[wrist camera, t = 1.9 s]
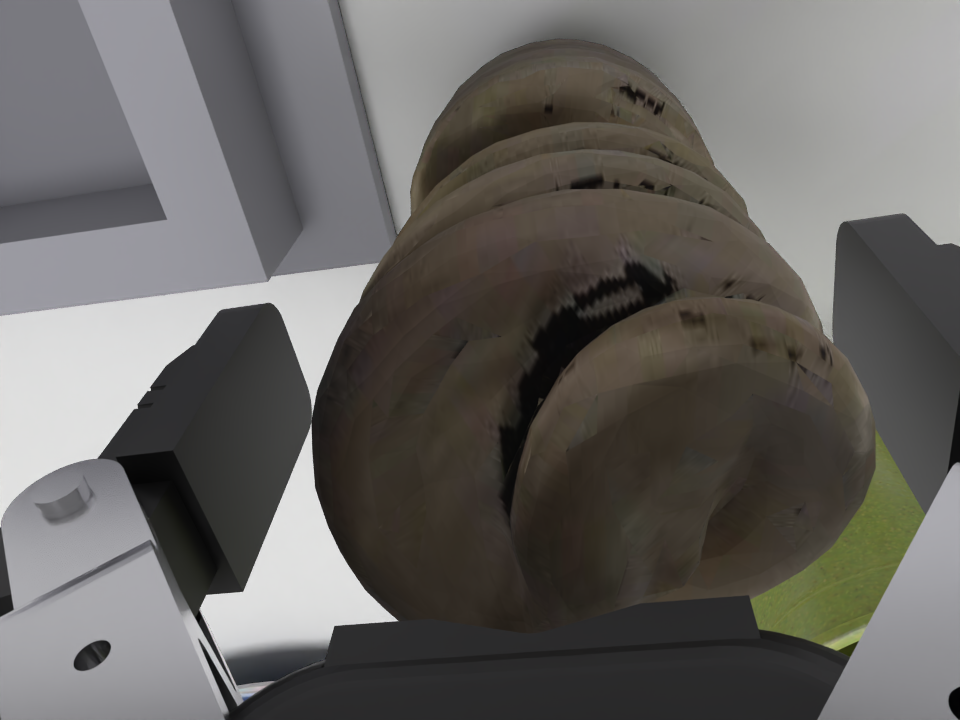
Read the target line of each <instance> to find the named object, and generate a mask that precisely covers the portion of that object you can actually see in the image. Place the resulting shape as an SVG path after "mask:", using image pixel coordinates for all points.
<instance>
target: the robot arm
mask: <svg viewBox="0 0 960 720" xmlns="http://www.w3.org/2000/svg"><path fill="white" fill-rule="evenodd" d="M833 341H834V345H835V346H836V347H837V348H838V349H839V350H840V351H841V352H842V353H843V354H844V355H845V356H846V357H847V358H848V360H849V362H850V364H851V366H852V368H853V370H854V372H855V373H856V375H857V377H858V379H859V381H860V383H861V385H862V387H863V389H864V390H865V392H866V394H867V396H868V399H869V403H870V407H871V410H872V414H873V417H874V421H875V429H876V430H877V432H878V434H879V436H880V437H881V439H882V441H883V442H884V444H885V446H886V448H887V449H888V451H889V453H890V455H891V456H892V458H893V460H894V461H895V463H896V465H897V467H898V468H899V470H900V472H901V474H902V475H903V477H904V479H905V481H906V482H907V484H908V486H909V487H910V489H911V491H912V493H913V494H914V496H915V498H916V500H917V501H918V503H919V505H920V506H921V508H922V510H923V512H924V513H925V515H926V516H925V518H924V520H923V522H922V524H921V525H920V527H919V529H918V531H917V533H916V535H915V537H914V539H913V540H912V542H911V544H910V546H909V548H908V550H907V552H906V554H905V556H904V557H903V559H902V561H901V563H900V565H899V567H898V569H897V571H896V572H895V574H894V576H893V578H892V580H891V582H890V584H889V586H888V588H887V589H886V591H885V593H884V595H883V597H882V599H881V601H880V603H879V604H878V606H877V608H876V610H875V612H874V614H873V616H872V618H871V620H870V621H869V623H868V625H867V627H866V629H865V631H864V633H863V635H862V636H861V638H860V640H859V642H858V644H857V646H856V648H855V650H854V652H853V653H852V655H851V657H849V656H847V655H845V654H843V653H841V652H839V651H836V650H834V649H832V648H829V647H826V646H823V645H821V644H818V643H815V642H812V641H809V640H806V639H803V638H799V637H795V636H791V635H787V634H783V633H779V632H773V631H767V630H761V629H758V626H757V622H756V619H755V615H754V611H753V608H752V604H751V601H750V597H749V595H745V596H732V597H719V598H705V599H692V600H678V601H665V602H651V603H640V604H637V605H633V606H630V607H626V608H623V609H619V610H616V611H613V612H609V613H606V614H602V615H599V616H595V617H592V618H589V619H585V620H582V621H578V622H575V623H571V624H568V625H565V626H561V627H558V628H554V629H551V630H548V631H544V632H539V633H530V634H528V633H518V632H512V631H505V630H499V629H492V628H486V627H479V626H473V625H466V624H460V623H453V622H447V621H440V620H434V619H423V620H409V621H396V622H383V623H369V624H356V625H342V626H334V630H333V634H332V637H331V641H330V645H329V648H328V652H327V656H326V659H325V660H323V661H320V662H317V663H314V664H311V665H309V666H306V667H304V668H301V669H299V670H296V671H294V672H292V673H290V674H288V675H286V676H284V677H282V678H280V679H278V680H276V681H275V682H273V683H271V684H269V685H268V686H266V687H264V688H263V689H261V690H260V691H258V692H257V693H255V694H254V695H252V696H250V697H249V698H248V699H246V700H245V701H243V699H242V696H241V694H240V692H239V690H238V688H237V685H236V683H235V681H234V679H233V677H232V675H231V672H230V670H229V668H228V666H227V664H226V662H225V659H224V657H223V655H222V653H221V651H220V649H219V646H218V644H217V642H216V640H215V638H214V635H213V633H212V631H211V629H210V627H209V625H208V623H207V621H206V619H205V617H204V615H203V614H202V612H201V610H200V607H201V605H202V603H203V600H204V598H205V596H206V595H209V594H221V593H233V592H243V591H244V588H245V586H246V583H247V581H248V578H249V576H250V574H251V571H252V569H253V566H254V564H255V561H256V559H257V556H258V554H259V552H260V549H261V547H262V544H263V542H264V539H265V537H266V534H267V532H268V530H269V527H270V525H271V522H272V520H273V517H274V515H275V512H276V510H277V507H278V505H279V503H280V500H281V498H282V495H283V493H284V490H285V488H286V485H287V483H288V481H289V478H290V476H291V473H292V471H293V468H294V466H295V463H296V461H297V459H298V456H299V454H300V451H301V449H302V446H303V444H304V441H305V439H306V437H307V434H308V432H309V429H310V425H311V418H312V407H311V399H310V394H309V390H308V387H307V384H306V381H305V379H304V376H303V373H302V370H301V368H300V365H299V362H298V359H297V357H296V354H295V351H294V349H293V346H292V343H291V340H290V338H289V335H288V332H287V329H286V327H285V324H284V321H283V319H282V316H281V314H280V312H279V311H278V309H277V308H276V307H275V306H274V305H273V304H271V303H265V304H258V305H251V306H244V307H237V308H230V309H223V310H221V311H219V312H218V313H217V315H216V316H215V318H214V319H213V320H212V322H211V323H210V325H209V326H208V327H207V329H206V330H205V332H204V333H203V334H202V336H201V337H200V339H199V340H198V341H197V343H196V344H195V345H193V346H191V347H190V348H189V349H188V350H186V351H185V352H184V353H182V354H181V355H180V356H178V357H177V358H176V359H174V360H173V361H172V362H171V363H169V364H168V365H167V366H166V367H165V368H164V370H163V371H162V372H161V374H160V375H159V376H158V378H157V379H156V380H155V382H154V383H153V384H152V386H151V387H150V388H151V391H147V393H146V394H145V395H144V397H143V398H142V399H141V401H140V402H139V403H138V409H134V410H133V411H132V413H131V414H130V415H129V417H128V418H127V420H126V421H125V422H124V424H123V425H122V426H121V428H120V429H119V430H118V432H117V433H116V434H115V436H114V437H113V438H112V440H111V441H110V443H109V444H108V445H107V447H106V448H105V449H104V451H103V452H102V453H101V455H100V456H99V457H98V459H92V460H85V461H81V462H77V463H74V464H71V465H68V466H65V467H63V468H60V469H58V470H56V471H54V472H52V473H50V474H48V475H46V476H44V477H43V478H41V479H39V480H38V481H36V482H35V483H33V484H32V485H30V486H29V487H28V488H26V489H25V490H24V491H23V492H22V493H20V494H19V495H18V496H17V497H16V498H15V499H14V500H13V501H12V503H11V504H10V505H9V507H8V508H7V510H6V511H5V513H4V515H3V518H2V521H1V527H0V720H960V247H959V246H957V245H954V244H952V243H950V244H943V245H936V244H935V243H934V242H933V241H932V240H931V239H930V238H929V237H928V236H927V235H926V234H925V233H924V232H923V231H922V230H921V229H920V228H919V227H918V226H917V225H916V224H915V223H914V222H913V221H912V220H911V219H910V218H909V217H908V216H907V215H906V214H903V213H902V214H895V215H888V216H881V217H874V218H867V219H860V220H853V221H846V222H843V223H842V224H841V225H840V227H839V230H838V234H837V241H836V260H835V282H834V303H833Z"/></svg>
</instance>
